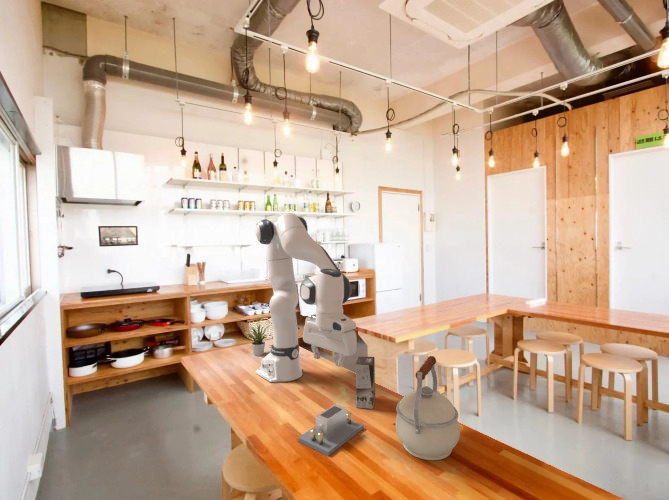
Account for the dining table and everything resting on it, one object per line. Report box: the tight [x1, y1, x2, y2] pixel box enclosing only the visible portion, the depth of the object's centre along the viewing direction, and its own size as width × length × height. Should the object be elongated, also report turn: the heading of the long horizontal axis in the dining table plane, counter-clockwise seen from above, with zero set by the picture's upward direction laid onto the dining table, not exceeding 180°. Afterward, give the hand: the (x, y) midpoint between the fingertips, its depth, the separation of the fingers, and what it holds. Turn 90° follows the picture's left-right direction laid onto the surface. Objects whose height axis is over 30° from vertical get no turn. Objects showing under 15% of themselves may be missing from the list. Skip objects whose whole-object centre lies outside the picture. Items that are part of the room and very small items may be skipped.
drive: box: [314, 403, 348, 440], centre depth 110 cm, size 4×10×6 cm, turn 141°
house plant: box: [244, 323, 272, 357], centre depth 187 cm, size 14×14×16 cm
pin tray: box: [297, 412, 365, 457], centre depth 110 cm, size 12×18×4 cm, turn 141°
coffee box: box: [355, 356, 376, 410], centre depth 130 cm, size 9×6×16 cm
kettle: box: [394, 355, 461, 461], centre depth 104 cm, size 25×18×25 cm
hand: (327, 362), depth 113 cm, fingers open, 8 cm apart
